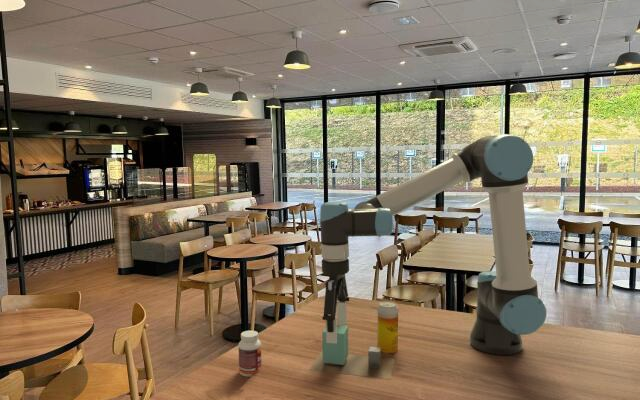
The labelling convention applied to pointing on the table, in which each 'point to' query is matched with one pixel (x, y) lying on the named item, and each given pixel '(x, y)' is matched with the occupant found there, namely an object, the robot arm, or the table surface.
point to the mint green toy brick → (336, 347)
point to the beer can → (387, 327)
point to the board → (355, 366)
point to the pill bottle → (249, 353)
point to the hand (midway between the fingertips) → (337, 332)
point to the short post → (374, 358)
